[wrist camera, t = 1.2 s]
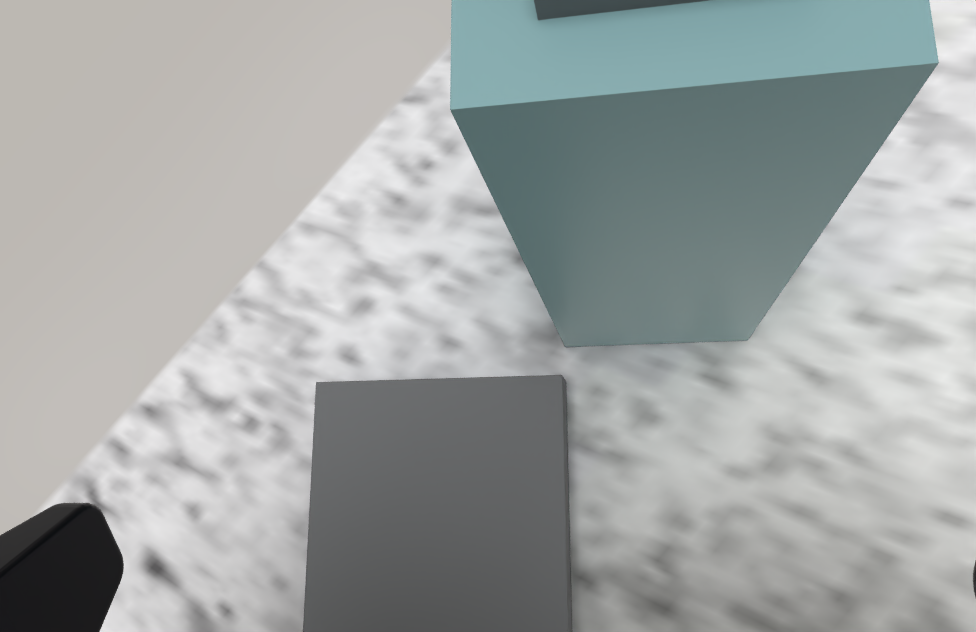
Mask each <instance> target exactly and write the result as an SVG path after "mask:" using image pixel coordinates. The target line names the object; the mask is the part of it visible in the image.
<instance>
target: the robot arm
mask: <svg viewBox="0 0 976 632" xmlns="http://www.w3.org/2000/svg"><path fill="white" fill-rule="evenodd" d="M123 566H124V563H123V557H122V554H121V552H120V549H119V547H118V545H117V543H116V541H115V539H114V537H113V534H112V532H111V530H110V528H109V526H108V524H107V521H106V519H105V517H104V515H103V513H102V512H101V510H100V509H99V508H98V507H97V506H95V505H93V504H90V503H61V504H57V505H54V506H52V507H50V508H48V509H46V510H45V511H43V512H41V513H39V514H37V515H36V516H34V517H32V518H30V519H29V520H27V521H25V522H23V523H22V524H20V525H18V526H16V527H14V528H12V529H11V530H9V531H7V532H5V533H4V534H2V535H0V632H99V631H100V629H101V627H102V624H103V622H104V619H105V617H106V615H107V612H108V610H109V608H110V605H111V603H112V600H113V598H114V596H115V593H116V591H117V589H118V586H119V584H120V581H121V578H122V574H123ZM973 586H974V592H975V597H976V562H975V566H974V571H973Z"/></svg>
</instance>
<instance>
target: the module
mask: <svg viewBox="0 0 976 632" xmlns="http://www.w3.org/2000/svg"><path fill="white" fill-rule="evenodd" d="M451 11H452V14H451V18H452V19H451V92H450V110H451V112H452V114H453V116H454V118H455V120H456V122H457V125H458V127H459V129H460V131H461V133H462V135H463V137H464V139H465V141H466V143H467V145H468V147H469V149H470V151H471V153H472V156H473V158H474V160H475V162H476V164H477V166H478V168H479V170H480V172H481V174H482V176H483V178H484V180H485V182H486V184H487V187H488V189H489V191H490V193H491V195H492V197H493V199H494V201H495V203H496V205H497V207H498V209H499V211H500V213H501V215H502V217H503V220H504V222H505V224H506V226H507V228H508V230H509V232H510V234H511V236H512V238H513V240H514V242H515V244H516V246H517V248H518V251H519V253H520V255H521V257H522V259H523V261H524V263H525V265H526V267H527V269H528V271H529V273H530V275H531V277H532V279H533V281H534V284H535V286H536V288H537V290H538V292H539V294H540V296H541V298H542V300H543V302H544V304H545V306H546V308H547V310H548V312H549V315H550V317H551V319H552V321H553V323H554V325H555V327H556V329H557V331H558V333H559V335H560V337H561V339H562V341H563V343H564V345H565V347H581V346H608V345H635V344H663V343H690V342H718V341H745V340H748V339H749V338H750V336H751V335H752V333H753V332H754V330H755V329H756V327H757V326H758V325H759V323H760V322H761V320H762V319H763V317H764V316H765V314H766V313H767V311H768V310H769V309H770V307H771V306H772V304H773V303H774V301H775V300H776V298H777V297H778V295H779V294H780V293H781V291H782V290H783V288H784V287H785V285H786V284H787V282H788V281H789V279H790V278H791V277H792V275H793V274H794V272H795V271H796V269H797V268H798V266H799V265H800V264H801V262H802V261H803V259H804V258H805V256H806V255H807V253H808V252H809V250H810V249H811V248H812V246H813V245H814V243H815V242H816V240H817V239H818V237H819V236H820V234H821V233H822V232H823V230H824V229H825V227H826V226H827V224H828V223H829V221H830V220H831V218H832V217H833V216H834V214H835V213H836V211H837V210H838V208H839V207H840V205H841V204H842V203H843V201H844V200H845V198H846V197H847V195H848V194H849V192H850V191H851V189H852V188H853V187H854V185H855V184H856V182H857V181H858V179H859V178H860V176H861V175H862V173H863V172H864V171H865V169H866V168H867V166H868V165H869V163H870V162H871V160H872V159H873V157H874V156H875V155H876V153H877V152H878V150H879V149H880V147H881V146H882V144H883V143H884V141H885V140H886V139H887V137H888V136H889V134H890V133H891V131H892V130H893V128H894V127H895V126H896V124H897V123H898V121H899V120H900V118H901V117H902V115H903V114H904V112H905V111H906V110H907V108H908V107H909V105H910V104H911V102H912V101H913V99H914V98H915V96H916V95H917V94H918V92H919V91H920V89H921V88H922V86H923V85H924V83H925V82H926V80H927V79H928V78H929V76H930V75H931V73H932V72H933V70H934V69H935V67H936V66H937V65H938V63H939V62H938V55H937V49H936V42H935V36H934V29H933V23H932V16H931V10H930V3H929V0H452V10H451Z"/></svg>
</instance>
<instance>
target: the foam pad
mask: <svg viewBox="0 0 976 632" xmlns="http://www.w3.org/2000/svg"><path fill="white" fill-rule="evenodd" d="M303 632H572V608H571V567H570V526H569V484H568V443H567V402H566V381H565V379H564V378H563V376H562V375H546V376H512V377H479V378H446V379H412V380H379V381H345V382H316V395H315V414H314V433H313V452H312V471H311V491H310V510H309V529H308V548H307V567H306V586H305V605H304V624H303Z"/></svg>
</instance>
